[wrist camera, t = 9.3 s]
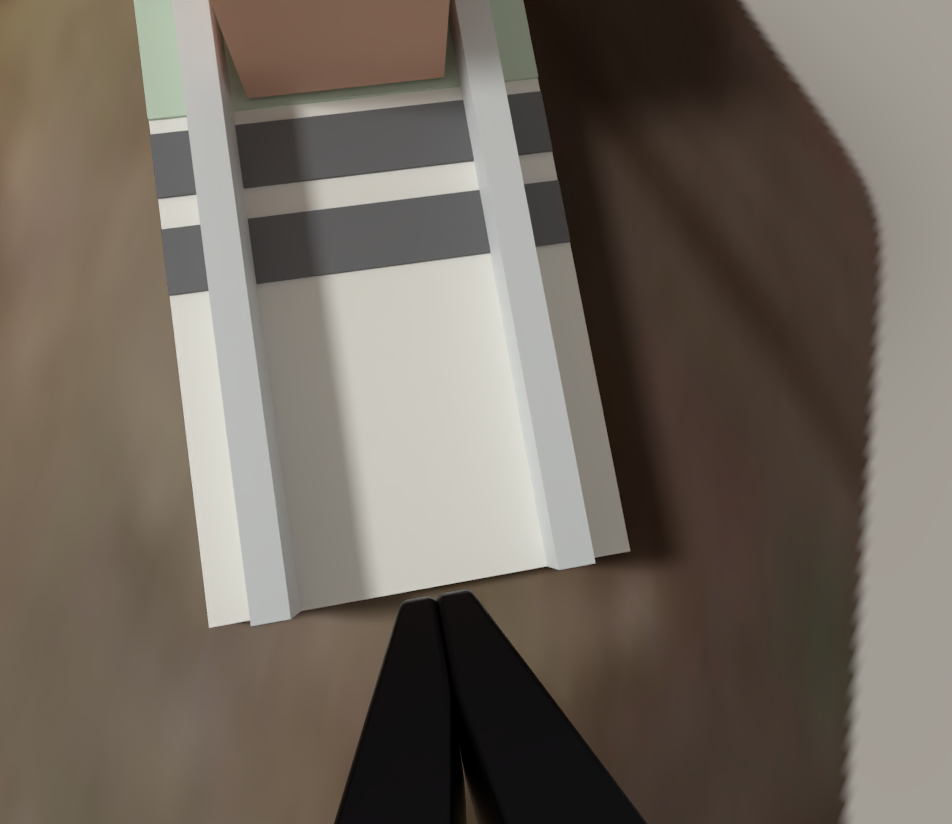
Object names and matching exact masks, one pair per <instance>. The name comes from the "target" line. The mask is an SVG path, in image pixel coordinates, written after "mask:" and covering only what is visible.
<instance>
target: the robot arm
mask: <svg viewBox="0 0 952 824" xmlns="http://www.w3.org/2000/svg"><path fill="white" fill-rule="evenodd" d="M459 746H460V747H459ZM460 752H461V754H460ZM461 758H462V761H461ZM462 763H463V768H464V773H465V778H466V782H467V786H468V790H469V794H470V798H471V801H472V805H473V808H474V812H475V815H476V819H477V822H478V824H647V823H646V821H645V820H644V819H643V817H642V816H641V815H640V813H639V812H638V811H637V809H636V808H635V807H634V805H633V804H632V803H631V801H630V800H629V799H628V797H627V796H626V795H625V793H624V792H623V791H622V789H621V788H620V787H619V786H618V784H617V783H616V782H615V780H614V779H613V778H612V776H611V775H610V774H609V772H608V771H607V770H606V768H605V767H604V766H603V764H602V763H601V762H600V760H599V759H598V758H597V756H596V755H595V754H594V752H593V751H592V750H591V748H590V747H589V746H588V744H587V743H586V742H585V740H584V739H583V738H582V736H581V735H580V734H579V732H578V731H577V730H576V729H575V727H574V726H573V725H572V723H571V722H570V721H569V719H568V718H567V717H566V715H565V714H564V713H563V711H562V710H561V709H560V707H559V706H558V705H557V703H556V702H555V701H554V699H553V698H552V697H551V695H550V694H549V693H548V691H547V690H546V689H545V687H544V686H543V685H542V683H541V682H540V681H539V679H538V678H537V677H536V675H535V674H534V673H533V671H532V670H531V669H530V668H529V666H528V665H527V664H526V662H525V661H524V660H523V658H522V657H521V656H520V654H519V653H518V652H517V650H516V649H515V648H514V646H513V645H512V644H511V642H510V641H509V640H508V638H507V637H506V636H505V634H504V633H503V632H502V630H501V629H500V628H499V626H498V625H497V624H496V622H495V621H494V620H493V618H492V617H491V616H490V614H489V613H488V612H487V611H486V609H485V608H484V607H483V605H482V604H481V603H480V601H479V600H478V599H477V597H476V596H475V595H474V594H473V593H472V592H471V591H470V590H459V591H454V592H448V593H443V594H440V595H439V596H438V598H437V602H436V599H435V598H434V597H432V596H426V597H421V598H415V599H410V600H405V601H403V602H402V603H401V605H400V607H399V609H398V612H397V616H396V619H395V622H394V626H393V629H392V632H391V636H390V639H389V642H388V646H387V649H386V652H385V656H384V659H383V662H382V666H381V669H380V672H379V676H378V679H377V682H376V686H375V689H374V692H373V696H372V699H371V702H370V706H369V709H368V712H367V716H366V719H365V722H364V726H363V729H362V732H361V736H360V739H359V742H358V746H357V749H356V752H355V756H354V759H353V762H352V766H351V769H350V772H349V776H348V779H347V782H346V786H345V789H344V792H343V795H342V799H341V802H340V805H339V809H338V812H337V815H336V819H335V822H334V824H467V821H466V800H465V787H464V776H463V769H462Z"/></svg>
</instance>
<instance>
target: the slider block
mask: <svg viewBox="0 0 952 824" xmlns="http://www.w3.org/2000/svg"><path fill="white" fill-rule="evenodd" d="M210 2H211V5H212V7H213V10H214V12H215V15H216V18H217V20H218V23H219V26H220V28H221V31H222V33H223V36H224V39H225V41H226V44H227V46H228V49H229V52H230V54H231V57H232V59H233V62H234V65H235V67H236V70H237V72H238V75H239V78H240V80H241V83H242V86H243V88H244V91H245V93H246V96H247V99H248V98H257V97H267V96H276V95H285V94H295V93H304V92H313V91H322V90H332V89H341V88H350V87H360V86H369V85H378V84H388V83H397V82H406V81H415V80H425V79H434V78H443V77H444V72H445V58H446V44H447V30H448V17H449V3H450V0H210Z"/></svg>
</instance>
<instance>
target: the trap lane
mask: <svg viewBox="0 0 952 824" xmlns="http://www.w3.org/2000/svg"><path fill="white" fill-rule="evenodd" d="M134 6H135V15H136V23H137V32H138V40H139V48H140V57H141V65H142V74H143V82H144V91H145V99H146V108H147V116H148V120H149V125H150V133H151V134H150V141H151V150H152V158H153V167H154V175H155V184H156V192H157V198H158V201H159V209H160V218H161V226H162V229H161V234H162V243H163V251H164V260H165V268H166V276H167V285H168V293H169V296H170V302H171V310H172V319H173V327H174V336H175V344H176V353H177V361H178V369H179V378H180V386H181V395H182V403H183V412H184V420H185V428H186V437H187V445H188V454H189V462H190V471H191V479H192V487H193V496H194V504H195V513H196V521H197V530H198V538H199V546H200V555H201V563H202V572H203V580H204V589H205V597H206V605H207V614H208V622H209V628H211V627H216V626H222V625H227V624H233V623H238V622H244V621H249V620H250V623H251V626H255V625H261V624H266V623H272V622H277V621H283V620H288V619H292V618H293V617H294V616H296V615H297V614H298V613H299V612H301V611H304V610H310V609H315V608H321V607H326V606H332V605H337V604H343V603H348V602H354V601H359V600H365V599H370V598H376V597H381V596H387V595H392V594H398V593H403V592H409V591H414V590H420V589H425V588H431V587H436V586H442V585H447V584H453V583H458V582H464V581H469V580H475V579H480V578H486V577H491V576H497V575H502V574H508V573H513V572H519V571H524V570H530V569H535V568H541V567H546V566H547V567H551V568H554V569H557V570H562V569H567V568H573V567H578V566H584V565H589V564H595V558H596V557H601V556H607V555H612V554H618V553H623V552H629V551H630V547H629V542H628V537H627V531H626V526H625V521H624V516H623V511H622V506H621V501H620V496H619V491H618V486H617V480H616V475H615V470H614V465H613V460H612V455H611V450H610V445H609V440H608V434H607V429H606V424H605V419H604V414H603V409H602V404H601V399H600V394H599V389H598V383H597V378H596V373H595V368H594V363H593V358H592V353H591V348H590V343H589V338H588V332H587V327H586V322H585V317H584V312H583V307H582V302H581V297H580V292H579V286H578V281H577V276H576V271H575V266H574V261H573V256H572V251H571V246H570V236H569V231H568V226H567V221H566V215H565V210H564V205H563V200H562V195H561V190H560V185H559V180H558V179H557V174H556V169H555V164H554V159H553V154H552V150H553V149H552V144H551V139H550V134H549V129H548V124H547V119H546V113H545V108H544V103H543V98H542V93H541V91H540V87H539V82H538V73H537V68H536V62H535V57H534V52H533V47H532V42H531V37H530V32H529V27H528V22H527V17H526V11H525V6H524V1H523V0H450V3H449V17H448V30H447V44H446V58H445V72H444V77H443V78H434V79H425V80H415V81H406V82H397V83H388V84H378V85H369V86H360V87H350V88H341V89H332V90H322V91H313V92H304V93H295V94H285V95H276V96H267V97H257V98H248V99H247V96H246V93H245V91H244V88H243V86H242V83H241V80H240V78H239V75H238V72H237V70H236V67H235V65H234V62H233V59H232V57H231V54H230V52H229V49H228V46H227V44H226V41H225V39H224V36H223V33H222V31H221V28H220V26H219V23H218V20H217V18H216V15H215V12H214V10H213V7H212V5H211V2H210V0H134Z"/></svg>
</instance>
